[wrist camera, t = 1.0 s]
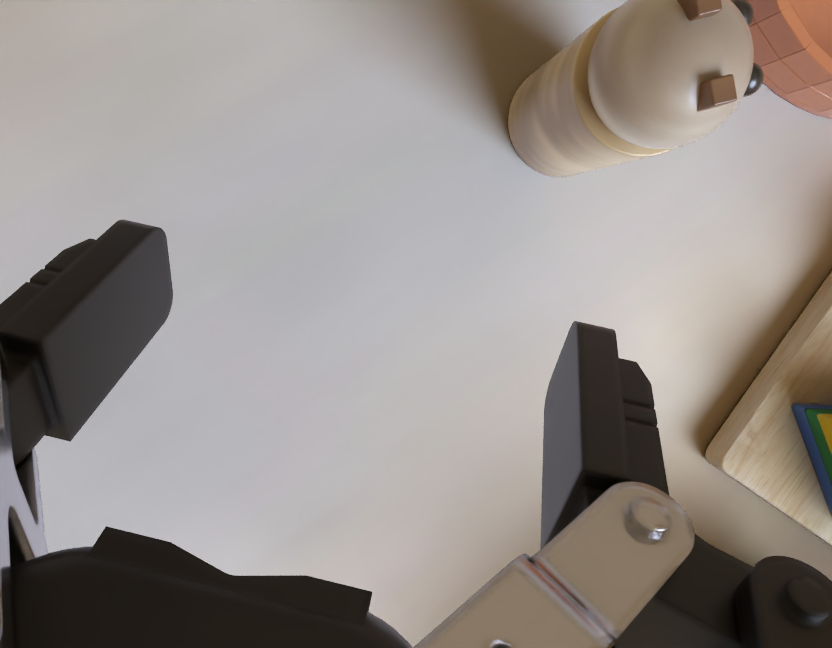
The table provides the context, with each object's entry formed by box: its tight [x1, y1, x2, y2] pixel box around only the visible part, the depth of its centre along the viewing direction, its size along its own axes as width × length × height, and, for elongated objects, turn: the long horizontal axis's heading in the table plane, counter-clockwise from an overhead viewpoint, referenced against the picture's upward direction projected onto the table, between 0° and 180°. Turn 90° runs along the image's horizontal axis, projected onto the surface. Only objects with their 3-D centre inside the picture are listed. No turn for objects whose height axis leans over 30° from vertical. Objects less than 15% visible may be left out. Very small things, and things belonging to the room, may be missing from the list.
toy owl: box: [508, 0, 764, 177], centre depth 26 cm, size 5×6×14 cm
